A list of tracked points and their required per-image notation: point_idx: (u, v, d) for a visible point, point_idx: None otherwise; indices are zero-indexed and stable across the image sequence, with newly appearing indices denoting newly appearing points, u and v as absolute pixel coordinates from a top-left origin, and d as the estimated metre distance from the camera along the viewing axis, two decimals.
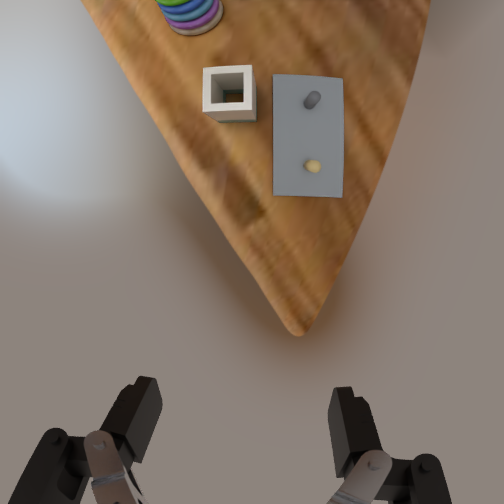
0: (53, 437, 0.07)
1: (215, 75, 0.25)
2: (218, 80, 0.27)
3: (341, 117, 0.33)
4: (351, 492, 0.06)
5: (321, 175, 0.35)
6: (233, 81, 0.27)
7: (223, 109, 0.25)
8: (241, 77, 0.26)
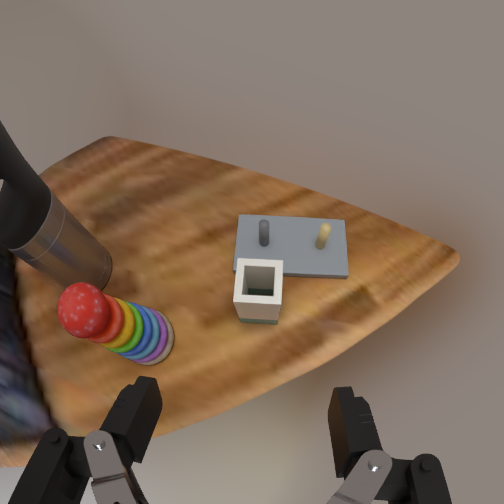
0: (53, 437, 0.07)
1: (242, 293, 0.30)
2: None
3: (275, 217, 0.43)
4: (351, 492, 0.06)
5: None
6: (245, 288, 0.33)
7: (280, 284, 0.29)
8: (245, 275, 0.32)
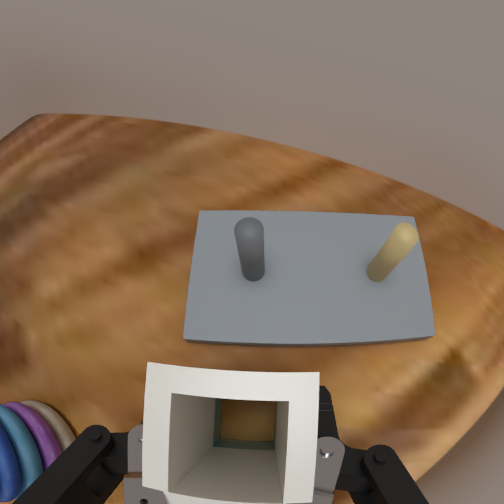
0: (94, 435, 0.07)
1: (174, 477, 0.06)
2: (190, 463, 0.08)
3: (277, 214, 0.20)
4: None
5: None
6: (197, 425, 0.10)
7: (310, 465, 0.06)
8: (188, 402, 0.09)
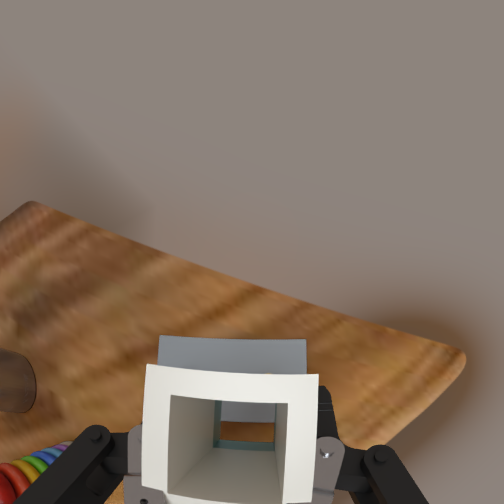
0: (94, 435, 0.07)
1: (173, 478, 0.06)
2: (190, 464, 0.08)
3: (207, 341, 0.30)
4: None
5: (280, 366, 0.28)
6: (196, 426, 0.10)
7: (309, 467, 0.06)
8: (188, 403, 0.09)
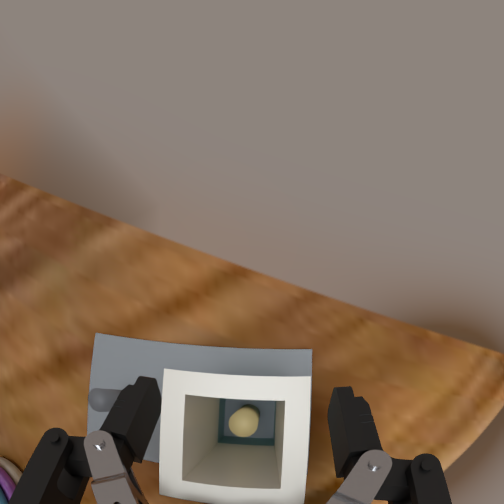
0: (53, 437, 0.07)
1: (186, 467, 0.08)
2: (199, 456, 0.09)
3: (158, 346, 0.19)
4: (351, 492, 0.06)
5: None
6: (204, 422, 0.11)
7: (303, 455, 0.07)
8: (198, 402, 0.10)
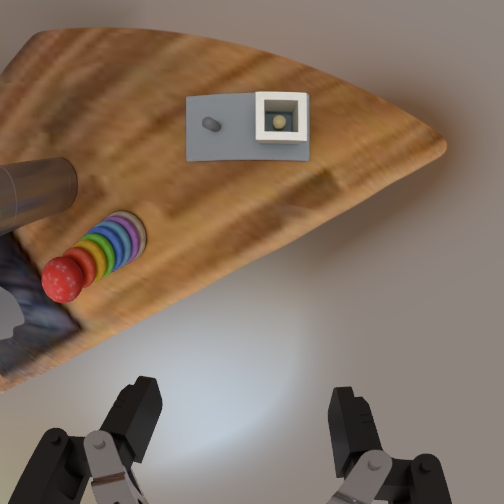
0: (53, 437, 0.07)
1: (264, 128, 0.26)
2: None
3: (227, 95, 0.33)
4: (351, 492, 0.06)
5: None
6: None
7: (305, 119, 0.25)
8: None
